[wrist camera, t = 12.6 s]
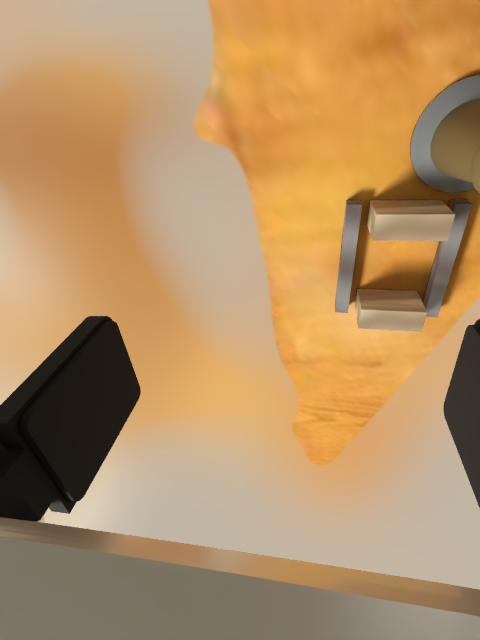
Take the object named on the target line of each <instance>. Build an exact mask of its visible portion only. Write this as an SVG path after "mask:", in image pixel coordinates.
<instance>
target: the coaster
mask: <svg viewBox="0 0 480 640" xmlns="http://www.w3.org/2000/svg"><path fill="white" fill-rule="evenodd" d="M476 99H480V75H474V76H471V77H467V78H464V79H462V80H459V81H457V82H456V83H454V84H452V85H450V86H449V87H447V88H446V89H444V90H443V91H442V92H441V93H439V94H438V95H437V96H436V97H435V98H434V99H433V100H432V101H431V102H430V103H429V104H428V106H427V107H426V108H425V109H424V111H423V112H422V114H421V116H420V117H419V119H418V121H417V123H416V125H415V128H414V130H413V134H412V137H411V143H410V157H411V162H412V166H413V168H414V170H415V172H416V174H417V175H418V176H419V178H420V179H421V180H422V181H423V182H424V183H426V184H427V185H428V186H430V187H432V188H434V189H436V190H439V191H443V192H453V193H454V192H464V191H469V190H472V189H475V188H474V185H473V183H472V182H468V181H464V180H460V179H457V178H453V177H450V176H447V175H445V174H443V173H441V172H440V171H439V170H438V169H437V168H436V167H435V166H434V164H433V162H432V159H431V157H430V144H431V140H432V137H433V134H434V132H435V130H436V128H437V127H438V125H439V123H440V122H441V120H442V119H443V118H444V117H445V116H446V115H447V114H448V113H449V112H450V111H451V110H453V109H455V108H456V107H458V106H460V105H461V104H463V103H465V102H469V101H472V100H476Z"/></svg>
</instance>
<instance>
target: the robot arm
mask: <svg viewBox="0 0 480 640" xmlns="http://www.w3.org/2000/svg"><path fill="white" fill-rule="evenodd" d="M139 397H140V386H139V383H138V380H137V378H136V374H135V372H134V369H133V366H132V363H131V361H130V358H129V355H128V352H127V350H126V347H125V344H124V342H123V339H122V336H121V333H120V330H119V327H118V325H117V323H116V322H114V321H112V319H111V318H110V317H107V316H90V317H87V318H86V319H85V320H84V321H83V322H82V323H81V324H80V325H79V326H78V327H77V328H76V329H75V330H74V331H73V332H72V333H71V334H70V335H69V336H68V337H67V338H66V339H65V340H64V341H63V342H62V343H61V344H60V345H59V346H58V347H57V348H56V349H55V350H54V351H53V352H52V353H51V354H50V355H49V356H48V357H47V358H46V360H44V361H43V363H42V364H41V365H40V366H39V367H38V368H37V369H36V370H35V371H34V372H33V373H32V374H31V375H30V376H29V377H28V378H27V379H26V380H25V381H24V382H23V383H22V384H21V385H20V386H19V387H18V388H17V389H16V390H15V391H14V392H13V393H12V394H11V395H10V396H9V397H8V398H7V399H6V400H5V401H4V402H3V403H2V404H1V405H0V640H480V590H478V589H472V588H466V587H460V586H454V585H449V584H443V583H437V582H431V581H425V580H418V579H412V578H405V577H399V576H392V575H386V574H380V573H373V572H366V571H361V570H354V569H348V568H341V567H335V566H329V565H322V564H316V563H309V562H303V561H297V560H290V559H284V558H277V557H270V556H264V555H257V554H250V553H244V552H237V551H231V550H224V549H218V548H211V547H204V546H198V545H191V544H184V543H178V542H171V541H164V540H158V539H151V538H144V537H138V536H131V535H124V534H117V533H110V532H103V531H96V530H89V529H83V528H75V527H68V526H62V525H55V524H48V523H44V514H45V512H46V510H47V509H48V507H49V508H50V510H51V511H55V512H62V513H68V514H70V512H71V510H72V509H73V507H74V505H75V503H76V502H77V501H79V500H81V499H82V498H83V497H84V495H85V493H86V492H87V490H88V488H89V486H90V484H91V483H92V481H93V479H94V477H95V476H96V474H97V472H98V470H99V469H100V467H101V465H102V463H103V461H104V460H105V458H106V456H107V454H108V452H109V451H110V449H111V447H112V446H113V444H114V442H115V440H116V438H117V436H118V435H119V433H120V431H121V430H122V428H123V426H124V424H125V422H126V421H127V419H128V417H129V415H130V413H131V412H132V410H133V408H134V406H135V405H136V402H137V401H138V399H139ZM444 416H445V419H446V421H447V424H448V427H449V429H450V432H451V435H452V437H453V440H454V442H455V445H456V447H457V450H458V453H459V455H460V458H461V460H462V463H463V465H464V468H465V471H466V473H467V476H468V479H469V481H470V484H471V486H472V489H473V492H474V494H475V497H476V499H477V502H478V505H479V507H480V319H479V320H477V321H476V323H475V325H469V326H468V327H467V329H466V331H465V334H464V338H463V341H462V344H461V349H460V351H459V355H458V358H457V361H456V365H455V368H454V372H453V375H452V379H451V381H450V385H449V388H448V392H447V395H446V398H445V402H444Z"/></svg>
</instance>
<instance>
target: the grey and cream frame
mask: <svg viewBox="0 0 480 640" xmlns="http://www.w3.org/2000/svg"><path fill="white" fill-rule="evenodd" d="M471 207H472V203H471V202H470V201H468V200H467V199H451V200H450V204H449V208H448V207H447V206H446V205H445V204H444V203H443V202H442V201H441V200H370V206H369V213H368V220H367V226H368V229H369V232H370V235H371V238H372V240H384V241H439V244H438V248H437V252H436V255H435V259H434V263H433V266H432V270H431V274H430V277H429V281H428V285H427V288H426V292H425V295H424V299H423V302H422V300H421V298H420V296H419V294H418V292H417V291H410V290H382V289H357V295H356V301H355V311H356V317H357V323H358V328H364V329H382V330H400V331H418V332H422V329H423V325H424V322H425V318H426V317H438V314H439V311H440V307H441V304H442V301H443V298H444V295H445V291H446V288H447V285H448V282H449V278H450V275H451V272H452V269H453V266H454V262H455V259H456V256H457V253H458V249H459V246H460V243H461V240H462V236H463V233H464V230H465V227H466V224H467V220H468V217H469V214H470V211H471ZM361 211H362V202H361V200H346V208H345V217H344V226H343V235H342V244H341V254H340V263H339V272H338V281H337V290H336V300H335V312H342V313H348V308H349V300H350V293H351V285H352V278H353V271H354V263H355V256H356V248H357V241H358V234H359V226H360V219H361Z"/></svg>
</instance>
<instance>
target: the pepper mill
mask: <svg viewBox="0 0 480 640" xmlns="http://www.w3.org/2000/svg"><path fill="white" fill-rule="evenodd" d="M430 157H431V159H432V162H433V164H434V166H435V167H436V168H437V169H438V170H439V171H440V172H441V173H443V174H445V175H447V176H450V177H453V178H457V179H460V180H464V181H468V182H472V183H473V185H474V188H475V189H476V190H477V191H478V192H479V193H480V99H476V100H472V101H469V102H465V103H463V104H461V105H460V106H458V107H456V108H455V109H453V110H451V111H450V112H449V113H448V114H447V115H446V116H445V117H444V118H443V119H442V120H441V122H440V123H439V125H438V127H437V128H436V130H435V132H434V134H433V137H432V140H431V144H430Z"/></svg>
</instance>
